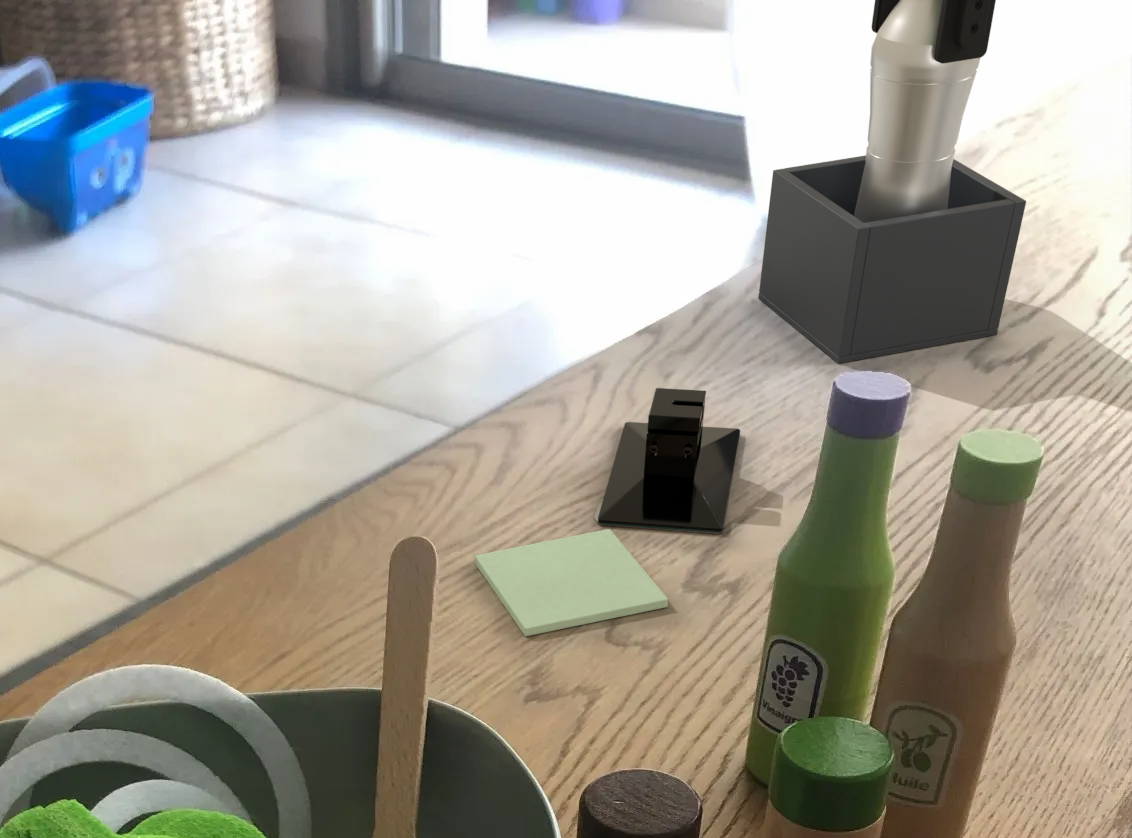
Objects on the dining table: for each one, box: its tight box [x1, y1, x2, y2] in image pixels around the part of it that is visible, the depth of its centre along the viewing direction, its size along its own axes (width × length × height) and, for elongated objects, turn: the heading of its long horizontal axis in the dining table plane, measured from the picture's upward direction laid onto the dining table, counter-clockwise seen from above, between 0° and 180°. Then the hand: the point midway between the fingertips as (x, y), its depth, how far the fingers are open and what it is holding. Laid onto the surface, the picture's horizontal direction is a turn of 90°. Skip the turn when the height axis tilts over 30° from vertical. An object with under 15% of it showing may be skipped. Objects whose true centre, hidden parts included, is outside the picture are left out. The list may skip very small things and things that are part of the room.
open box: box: [757, 154, 1027, 364], centre depth 108 cm, size 12×12×8 cm
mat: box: [474, 528, 669, 637], centre depth 87 cm, size 8×8×1 cm
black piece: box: [593, 387, 741, 535], centre depth 94 cm, size 12×7×5 cm, turn 167°
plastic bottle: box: [854, 0, 982, 223], centre depth 102 cm, size 6×7×20 cm
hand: (927, 41), depth 99 cm, fingers closed on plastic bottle, 6 cm apart
